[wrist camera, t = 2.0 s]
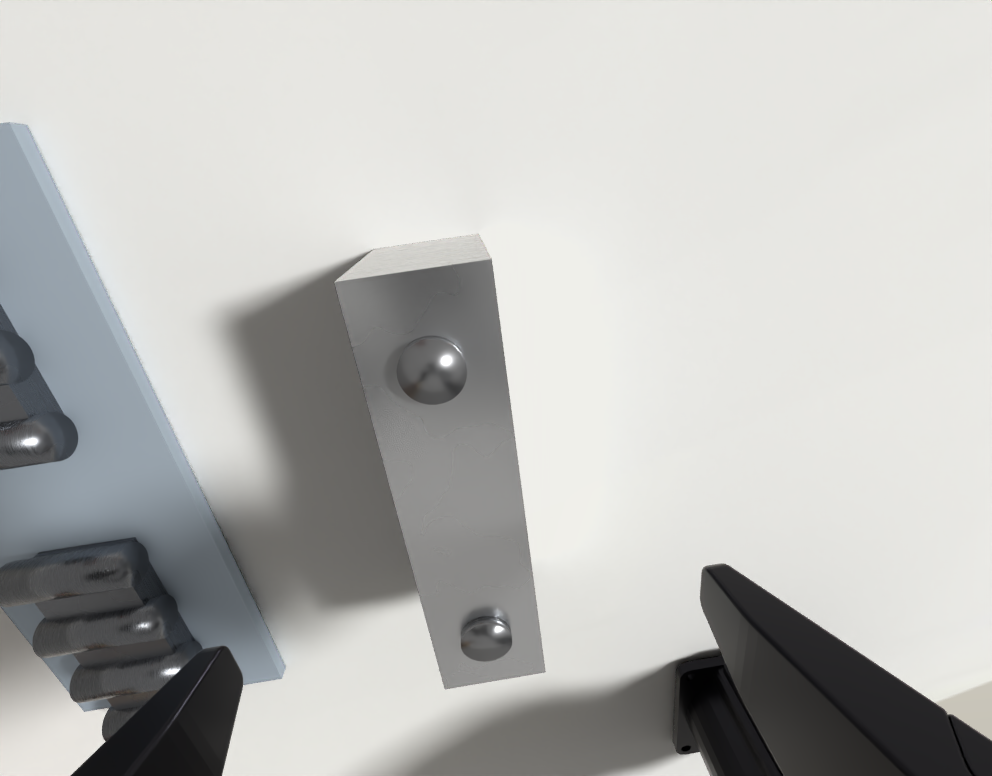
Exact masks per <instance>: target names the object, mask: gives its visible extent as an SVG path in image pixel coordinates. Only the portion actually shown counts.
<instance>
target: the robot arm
mask: <svg viewBox="0 0 992 776" xmlns="http://www.w3.org/2000/svg"><path fill="white" fill-rule="evenodd" d="M700 601H701V606H702V609H703V612H704V614H705V616H706V619H707V621H708V623H709V625H710V628H711V630H712V632H713V635H714V637H715V639H716V642H717V644H718V646H719V649H720V651H721V653H722V656H719V657H713V658H707V659H702V660H696V661H690V662H685V663H683V664H681V665H679V667H678V668H677V670H676V686H675V707H674V729H673V743H674V746H675V749H676V751H677V753H679V754H690V753H696V752H700V753H701V756H702V758H703V760H704V763H705V765H706V767H707V769H708V772H709V774H710V776H992V741H991V740H990V739H988V738H987V737H985V736H984V735H982V734H981V733H979V732H978V731H976V730H975V729H973V728H972V727H970V726H969V725H967V724H966V723H964V722H963V721H961V720H960V719H958V718H957V717H955V716H954V715H951V714H949V715H948V714H947V713H946V711H945V710H944V709H943V708H941V707H940V706H938V705H937V704H936V703H934V702H933V701H931V700H930V699H928V698H927V697H925V696H924V695H922V694H921V693H919V692H918V691H916V690H915V689H913V688H912V687H910V686H909V685H907V684H906V683H904V682H903V681H901V680H900V679H898V678H897V677H895V676H894V675H892V674H891V673H889V672H888V671H886V670H885V669H883V668H882V667H880V666H879V665H877V664H876V663H874V662H873V661H871V660H870V659H868V658H867V657H865V656H864V655H862V654H861V653H859V652H858V651H856V650H855V649H853V648H852V647H850V646H849V645H847V644H846V643H844V642H843V641H841V640H840V639H838V638H837V637H835V636H834V635H832V634H831V633H829V632H828V631H826V630H825V629H823V628H822V627H820V626H819V625H817V624H816V623H814V622H813V621H811V620H810V619H808V618H807V617H805V616H804V615H802V614H801V613H799V612H798V611H796V610H795V609H793V608H792V607H790V606H789V605H787V604H786V603H784V602H783V601H781V600H780V599H778V598H777V597H775V596H774V595H772V594H771V593H769V592H768V591H766V590H765V589H763V588H762V587H760V586H759V585H757V584H756V583H754V582H753V581H751V580H750V579H748V578H747V577H745V576H744V575H742V574H741V573H739V572H738V571H736V570H735V569H733V568H732V567H730V566H729V565H726V564H715V565H709V566H705V567H704V568H703V569H702V575H701V590H700ZM242 688H243V675H242V671H241V670H240V668H239V666H238V664H237V662H236V660H235V658H234V656H233V655H232V653H231V651H230V649H229V648H228V647H226V646H216V647H210V648H205V649H203V650H201V651H199V652H198V653H197V654H196V655H195V656H194V657H193V658H192V659H191V660H190V661H189V662H188V663H187V664H186V665H185V666H184V667H182V668H181V669H180V670H179V671H178V672H177V673H176V674H175V675H174V676H173V677H172V678H171V679H170V680H169V681H168V682H167V683H166V684H165V685H164V686H163V687H162V688H161V689H160V690H159V691H158V692H157V693H156V694H155V695H154V696H153V697H151V698H150V699H149V700H148V701H147V702H146V703H145V704H144V705H143V706H142V707H141V708H140V709H139V710H138V711H137V712H136V713H135V714H134V715H133V716H132V717H131V718H130V719H129V720H128V721H127V722H126V723H125V724H124V725H123V726H121V727H120V728H119V729H118V730H117V731H116V732H115V733H114V734H113V735H112V736H111V737H110V738H109V739H108V740H107V741H106V742H105V743H104V744H103V745H102V746H101V747H100V748H99V749H98V750H97V751H96V752H95V753H94V754H93V755H92V756H90V757H89V758H88V759H87V760H86V761H85V762H84V763H83V764H82V765H81V766H80V767H79V768H78V769H77V770H76V771H75V772H74V773H73V774H72V775H71V776H222V773H223V769H224V765H225V761H226V756H227V752H228V748H229V744H230V739H231V735H232V731H233V727H234V722H235V718H236V714H237V710H238V705H239V701H240V697H241V693H242Z"/></svg>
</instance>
